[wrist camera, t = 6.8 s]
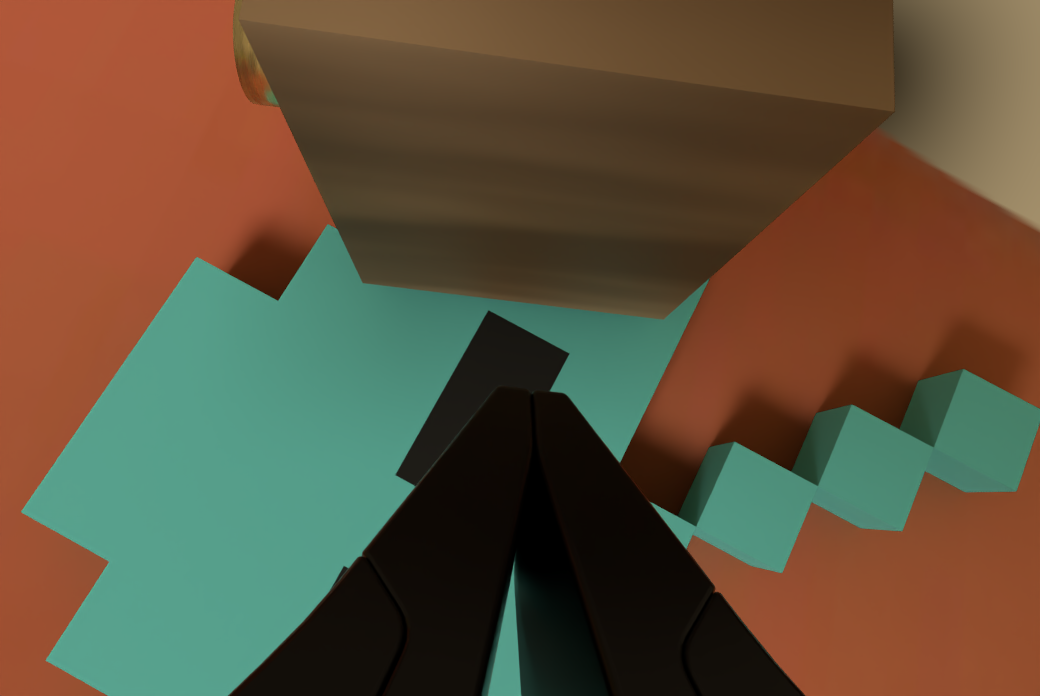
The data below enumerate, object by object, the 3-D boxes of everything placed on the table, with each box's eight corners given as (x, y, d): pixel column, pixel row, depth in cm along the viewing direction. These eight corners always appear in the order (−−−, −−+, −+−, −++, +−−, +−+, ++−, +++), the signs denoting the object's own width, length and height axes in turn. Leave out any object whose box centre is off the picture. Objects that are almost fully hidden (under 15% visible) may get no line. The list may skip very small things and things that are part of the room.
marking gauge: (663, 319, 16) (894, 111, 8) (327, 279, 16) (158, 8, 7) (681, 22, 18) (885, -428, 9) (379, -22, 18) (294, -536, 9)
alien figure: (979, 420, 20) (356, 92, 20) (1044, 410, 17) (343, 43, 18) (683, 1232, 15) (-103, 778, 16) (720, 1354, 13) (-194, 822, 14)
